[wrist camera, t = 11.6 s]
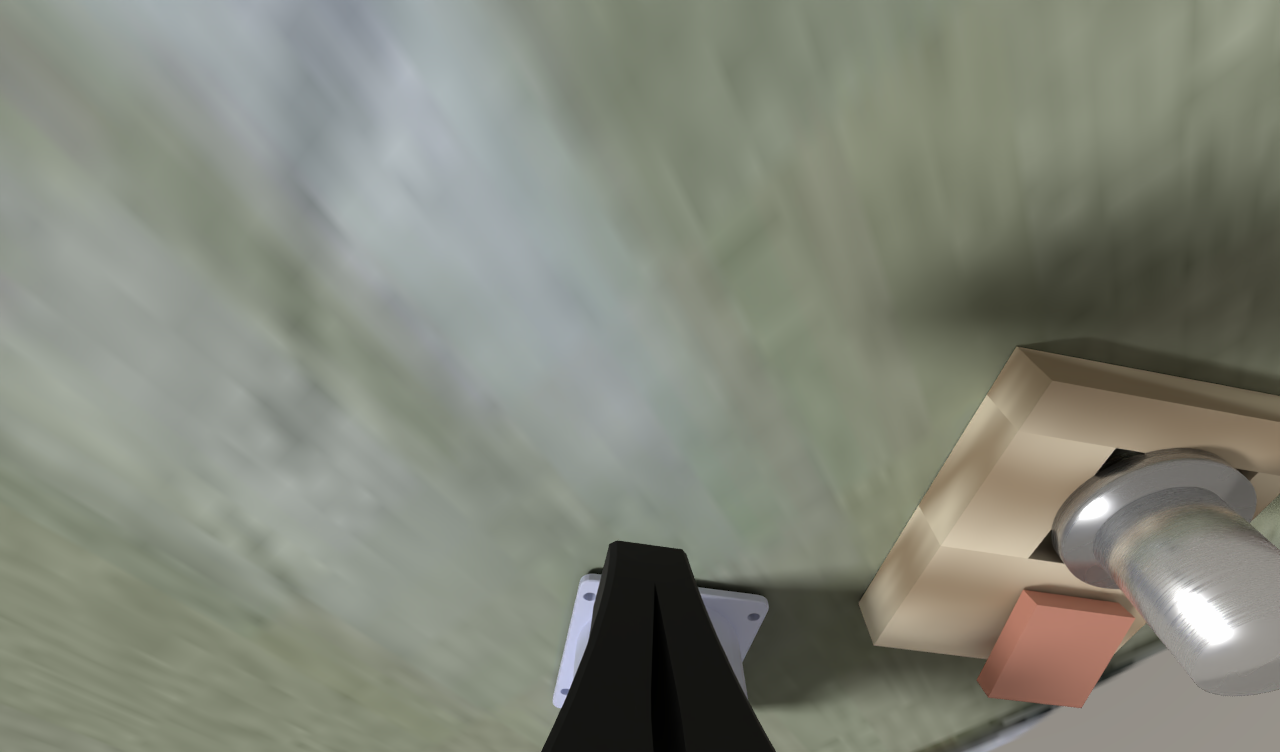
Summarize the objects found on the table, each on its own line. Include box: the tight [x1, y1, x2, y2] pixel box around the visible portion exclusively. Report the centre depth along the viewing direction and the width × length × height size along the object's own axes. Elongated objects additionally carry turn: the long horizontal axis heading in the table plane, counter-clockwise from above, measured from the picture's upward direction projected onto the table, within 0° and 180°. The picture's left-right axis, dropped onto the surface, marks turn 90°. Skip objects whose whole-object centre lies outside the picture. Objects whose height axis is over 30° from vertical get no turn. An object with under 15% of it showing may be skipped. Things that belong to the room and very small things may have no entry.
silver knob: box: [1051, 448, 1280, 696], centre depth 20 cm, size 6×6×7 cm
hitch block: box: [858, 346, 1280, 659], centre depth 23 cm, size 13×10×2 cm
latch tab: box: [977, 590, 1135, 708], centre depth 24 cm, size 4×4×1 cm
